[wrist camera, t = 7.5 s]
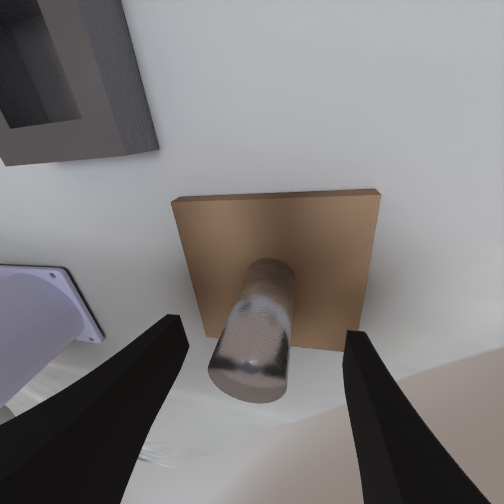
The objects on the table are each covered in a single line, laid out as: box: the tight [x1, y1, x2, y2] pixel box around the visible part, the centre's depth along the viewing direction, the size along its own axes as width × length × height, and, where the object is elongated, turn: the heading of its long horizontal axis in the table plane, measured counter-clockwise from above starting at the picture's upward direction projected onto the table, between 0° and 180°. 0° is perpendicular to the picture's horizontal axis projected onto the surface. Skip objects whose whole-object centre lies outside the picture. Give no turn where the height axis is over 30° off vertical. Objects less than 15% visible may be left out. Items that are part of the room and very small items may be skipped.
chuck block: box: [0, 0, 159, 166], centre depth 10 cm, size 7×7×2 cm
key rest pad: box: [171, 189, 381, 352], centre depth 14 cm, size 10×10×1 cm
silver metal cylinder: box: [208, 258, 295, 403], centre depth 11 cm, size 3×3×6 cm
